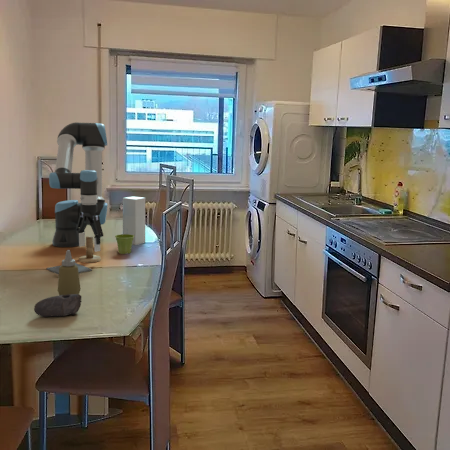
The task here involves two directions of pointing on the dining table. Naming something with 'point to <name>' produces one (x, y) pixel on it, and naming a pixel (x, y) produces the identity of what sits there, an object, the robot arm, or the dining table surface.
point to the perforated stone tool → (58, 305)
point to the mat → (80, 267)
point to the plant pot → (124, 243)
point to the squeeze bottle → (68, 276)
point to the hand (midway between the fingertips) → (89, 248)
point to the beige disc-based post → (89, 252)
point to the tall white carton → (134, 218)
